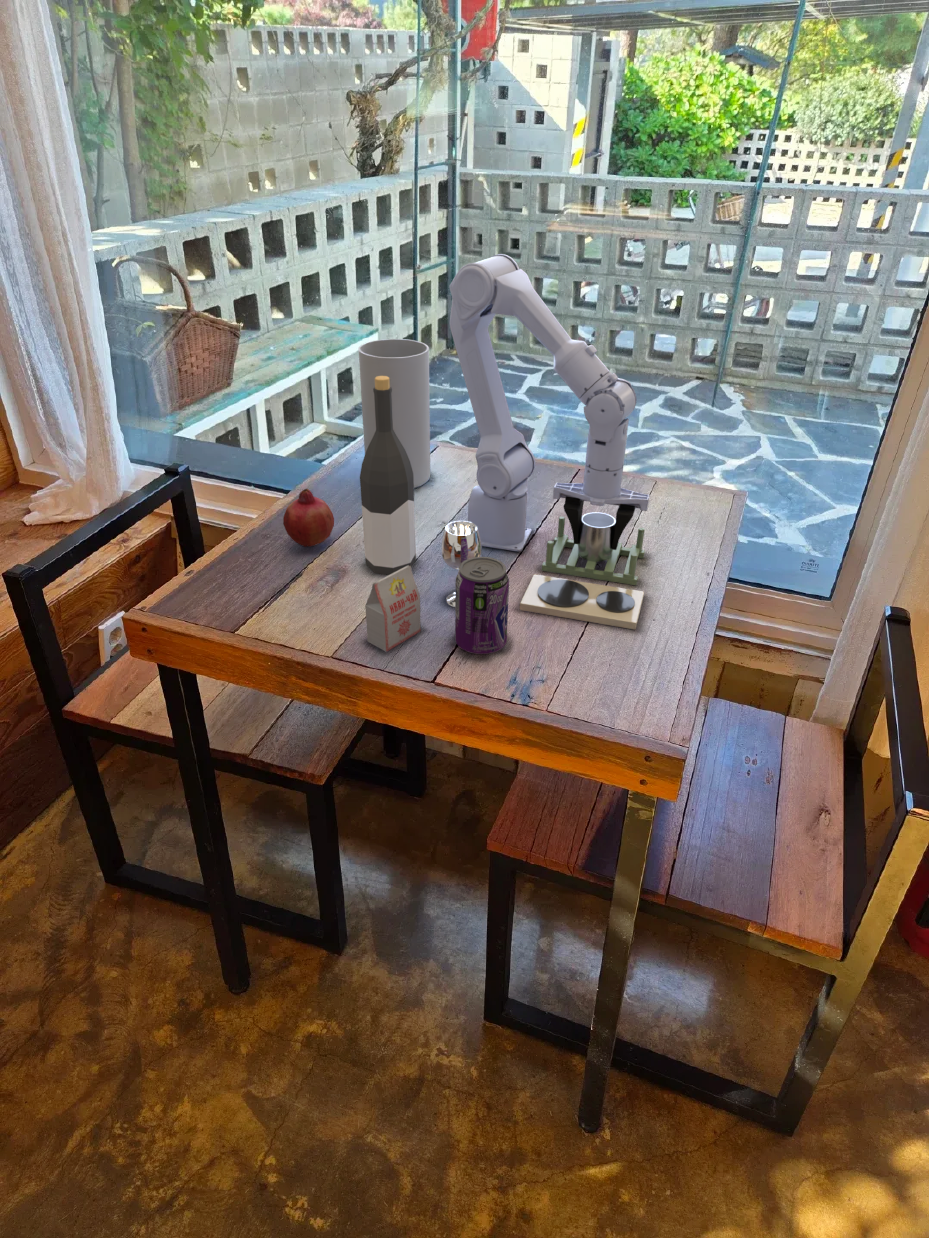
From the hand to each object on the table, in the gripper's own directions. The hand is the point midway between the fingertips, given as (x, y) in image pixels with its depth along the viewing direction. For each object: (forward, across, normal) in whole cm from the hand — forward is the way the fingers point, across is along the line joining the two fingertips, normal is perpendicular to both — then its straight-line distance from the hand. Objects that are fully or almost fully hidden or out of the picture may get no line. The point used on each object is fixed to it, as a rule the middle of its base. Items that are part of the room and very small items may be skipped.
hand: (595, 544), depth 131 cm
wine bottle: (+4, -31, -10) cm, 33 cm away
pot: (+2, 0, 0) cm, 2 cm away
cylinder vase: (+4, -42, +22) cm, 47 cm away
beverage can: (+4, -11, -28) cm, 30 cm away
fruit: (+4, -46, -8) cm, 47 cm away
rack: (+3, 0, 0) cm, 3 cm away
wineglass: (+4, -17, -18) cm, 25 cm away
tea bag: (+4, -23, -30) cm, 38 cm away
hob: (+3, 0, -13) cm, 13 cm away
